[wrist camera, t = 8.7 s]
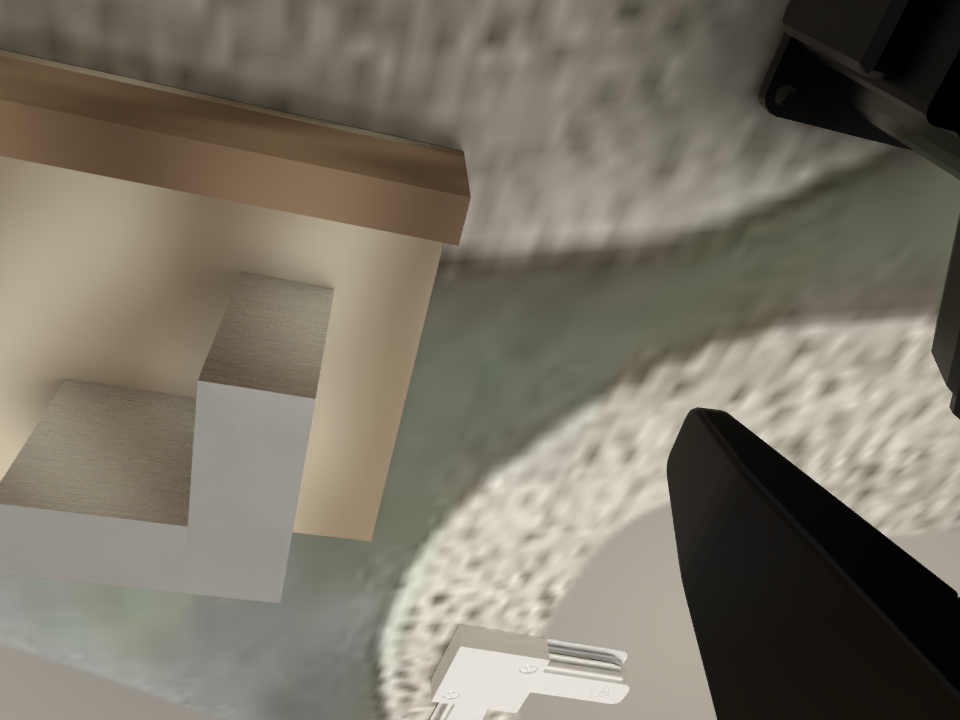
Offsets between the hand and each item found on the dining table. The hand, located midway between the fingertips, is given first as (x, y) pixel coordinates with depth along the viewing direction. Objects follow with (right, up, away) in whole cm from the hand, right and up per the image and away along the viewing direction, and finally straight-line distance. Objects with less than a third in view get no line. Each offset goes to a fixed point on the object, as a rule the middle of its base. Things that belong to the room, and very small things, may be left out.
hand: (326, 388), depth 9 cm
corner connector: (+3, -14, +25) cm, 29 cm away
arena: (-7, +1, +13) cm, 15 cm away
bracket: (-6, 0, +13) cm, 15 cm away
